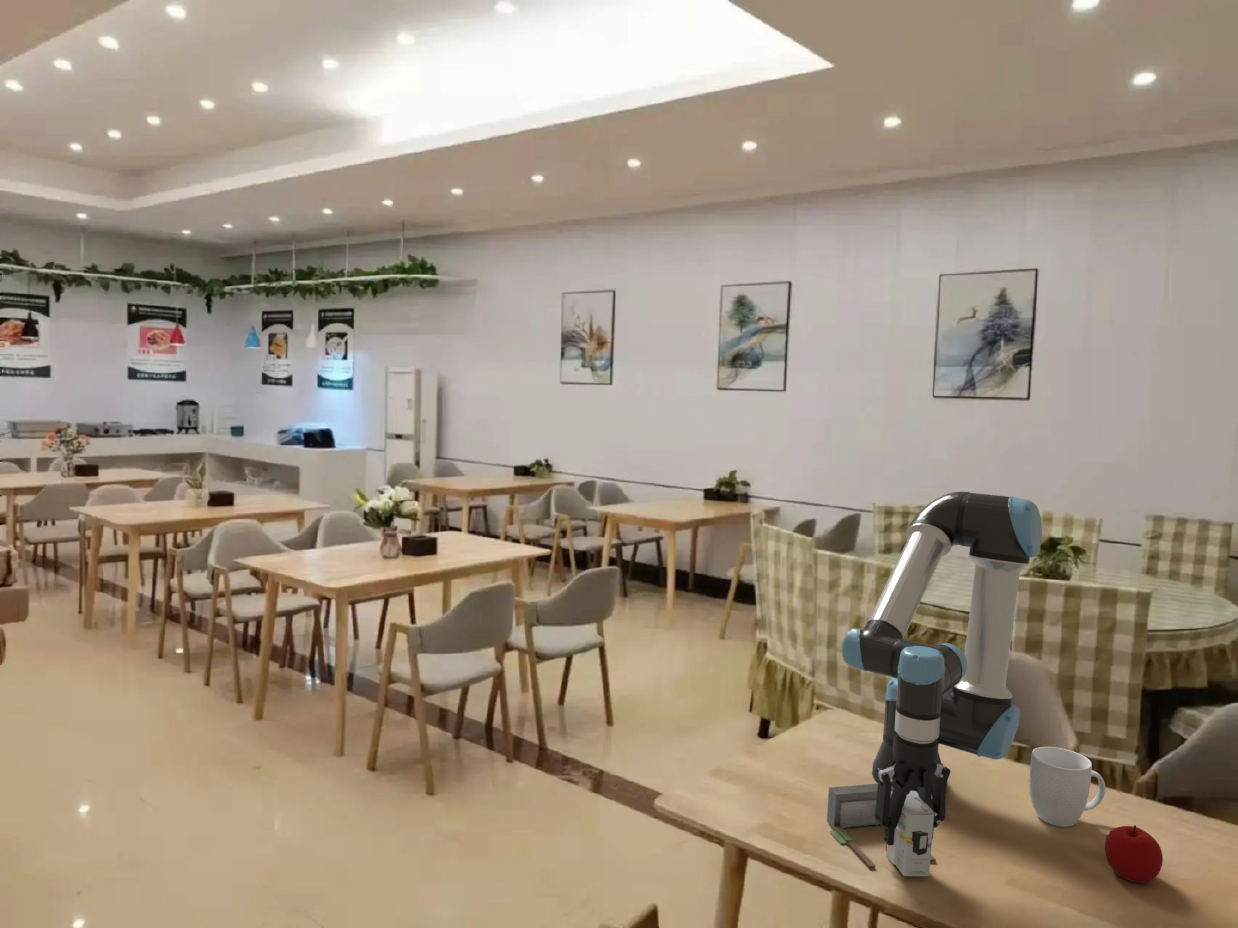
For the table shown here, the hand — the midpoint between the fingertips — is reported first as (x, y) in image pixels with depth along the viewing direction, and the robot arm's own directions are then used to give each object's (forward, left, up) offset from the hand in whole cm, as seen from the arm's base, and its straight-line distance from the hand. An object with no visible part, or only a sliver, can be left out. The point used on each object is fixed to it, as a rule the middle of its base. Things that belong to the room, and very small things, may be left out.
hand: (907, 858), depth 157 cm
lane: (0, -8, -2) cm, 8 cm away
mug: (-42, -11, -2) cm, 43 cm away
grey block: (0, -16, -2) cm, 17 cm away
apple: (-40, +9, -2) cm, 41 cm away
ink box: (0, 0, -1) cm, 1 cm away
